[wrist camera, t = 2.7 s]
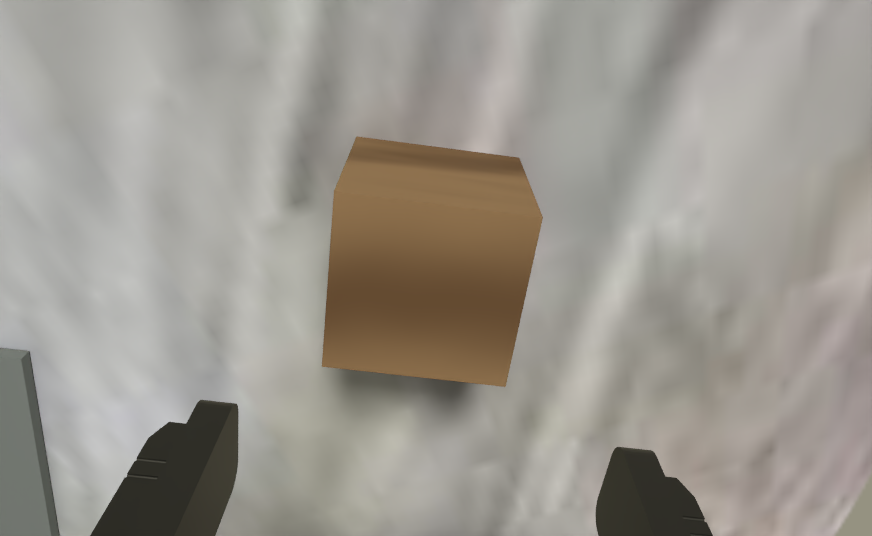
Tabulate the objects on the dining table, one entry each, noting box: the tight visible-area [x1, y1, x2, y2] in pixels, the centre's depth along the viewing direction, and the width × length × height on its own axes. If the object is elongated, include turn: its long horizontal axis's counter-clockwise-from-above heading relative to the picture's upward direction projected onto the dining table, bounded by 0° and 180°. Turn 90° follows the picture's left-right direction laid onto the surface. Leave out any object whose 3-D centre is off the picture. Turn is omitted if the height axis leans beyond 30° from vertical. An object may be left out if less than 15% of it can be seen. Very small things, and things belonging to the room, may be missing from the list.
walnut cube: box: [322, 137, 543, 387], centre depth 23 cm, size 6×6×6 cm
